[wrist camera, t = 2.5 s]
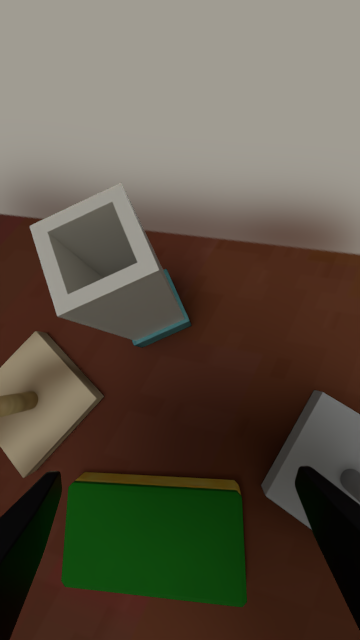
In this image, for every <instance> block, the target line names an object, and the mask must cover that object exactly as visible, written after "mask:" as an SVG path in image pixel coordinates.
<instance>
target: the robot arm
mask: <svg viewBox="0 0 360 640" xmlns="http://www.w3.org/2000/svg"><path fill="white" fill-rule="evenodd" d="M295 488H296V491H297V493H298V496H299V499H300V501H301V504H302V506H303V509H304V511H305V514H306V516H307V519H308V522H309V524H310V527H311V529H312V532H313V534H314V536H315V538H316V541H317V543H318V545H319V547H320V549H321V551H322V553H323V555H324V557H325V559H326V562H327V564H328V566H329V568H330V570H331V572H332V574H333V576H334V578H335V580H336V582H337V584H338V586H339V589H340V591H341V593H342V595H343V597H344V599H345V601H346V603H347V605H348V607H349V609H350V611H351V613H352V615H353V618H354V620H355V622H356V624H357V626H358V628H359V630H360V504H358V503H357V502H356V501H355V500H353V499H352V498H351V497H349V496H348V495H347V494H346V493H344V492H343V491H342V490H340V489H339V488H338V487H337V486H335V485H334V484H333V483H331V482H330V481H329V480H328V479H326V478H325V477H324V476H322V475H321V474H320V473H319V472H317V471H316V470H315V469H313V468H312V467H310V466H300V467H299V468H298V472H297V475H296V479H295ZM61 492H62V484H61V474H60V472H59V471H49V472H47V473H45V474H44V475H43V476H42V477H41V478H40V479H39V480H38V481H37V482H36V483H35V484H34V485H33V486H32V487H31V488H30V489H29V490H28V491H27V492H26V493H25V494H24V495H23V496H22V497H21V498H20V499H19V500H18V501H17V502H16V503H15V504H14V505H13V506H12V507H11V508H10V509H9V510H8V511H7V512H6V513H5V514H4V515H2V516H1V517H0V640H10V637H11V635H12V632H13V630H14V627H15V625H16V622H17V619H18V617H19V614H20V612H21V609H22V607H23V604H24V602H25V599H26V597H27V594H28V591H29V589H30V586H31V584H32V581H33V579H34V576H35V574H36V571H37V569H38V566H39V564H40V561H41V558H42V556H43V553H44V550H45V547H46V544H47V540H48V537H49V534H50V530H51V527H52V524H53V520H54V517H55V514H56V510H57V507H58V504H59V500H60V497H61Z"/></svg>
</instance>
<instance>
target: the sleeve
mask: <svg viewBox="0 0 360 640" xmlns="http://www.w3.org/2000/svg"><path fill="white" fill-rule="evenodd" d="M30 229H31V232H32V236H33V239H34V242H35V245H36V249H37V252H38V255H39V258H40V262H41V265H42V268H43V271H44V275H45V278H46V281H47V284H48V288H49V291H50V294H51V297H52V301H53V304H54V307H55V310H56V314H57V316H58V317H61V318H64V319H67V320H71V321H74V322H77V323H80V324H83V325H87V326H90V327H93V328H96V329H99V330H103V331H106V332H109V333H112V334H115V335H119V336H122V337H125V338H128V339H131V340H132V342H133V344H134V346H138V347H144V346H147V345H149V344H151V343H153V342H156V341H158V340H160V339H162V338H165V337H167V336H169V335H171V334H174V333H176V332H178V331H180V330H183V329H185V328H187V327H189V326H192V325H191V323H190V321H189V318H188V316H187V314H186V312H185V309H184V307H183V305H182V303H181V300H180V298H179V296H178V294H177V292H176V289H175V287H174V285H173V283H172V280H171V278H170V276H169V274H168V271H167V269H165V270H163V269H162V267H161V265H160V263H159V260H158V258H157V256H156V254H155V252H154V250H153V248H152V246H151V244H150V242H149V240H148V238H147V235H146V233H145V231H144V229H143V227H142V225H141V223H140V221H139V219H138V217H137V215H136V213H135V210H134V209H133V206H132V204H131V202H130V200H129V198H128V196H127V194H126V192H125V190H124V188H123V185H122V184H121V183H120V184H117V185H115V186H113V187H111V188H109V189H107V190H105V191H103V192H100V193H98V194H96V195H94V196H92V197H90V198H88V199H86V200H83V201H81V202H79V203H77V204H75V205H73V206H71V207H69V208H67V209H64V210H62V211H60V212H58V213H56V214H54V215H52V216H50V217H48V218H45V219H43V220H41V221H39V222H37V223H35V224H33V225H31V226H30Z"/></svg>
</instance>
